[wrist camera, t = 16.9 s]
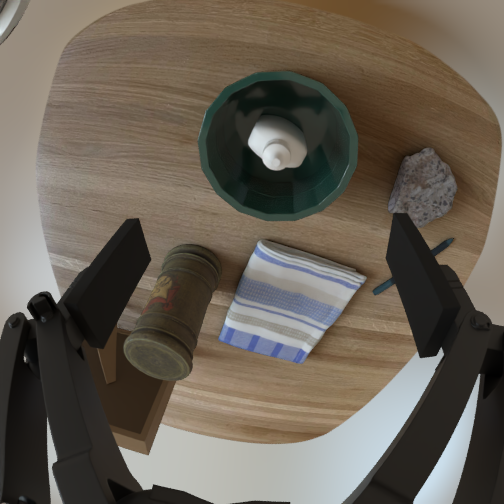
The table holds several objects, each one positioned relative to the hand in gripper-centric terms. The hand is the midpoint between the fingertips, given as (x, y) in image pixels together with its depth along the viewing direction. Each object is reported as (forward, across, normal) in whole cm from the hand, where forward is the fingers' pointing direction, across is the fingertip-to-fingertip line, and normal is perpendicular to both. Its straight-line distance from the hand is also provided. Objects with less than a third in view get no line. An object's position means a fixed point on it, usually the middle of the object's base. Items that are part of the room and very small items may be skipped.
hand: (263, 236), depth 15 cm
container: (+23, -14, -20) cm, 33 cm away
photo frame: (+23, -30, -34) cm, 51 cm away
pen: (+23, +20, -20) cm, 37 cm away
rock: (+23, +18, -7) cm, 30 cm away
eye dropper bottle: (+23, 0, 0) cm, 23 cm away
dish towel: (+23, 0, -28) cm, 36 cm away
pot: (+23, 0, 0) cm, 23 cm away
